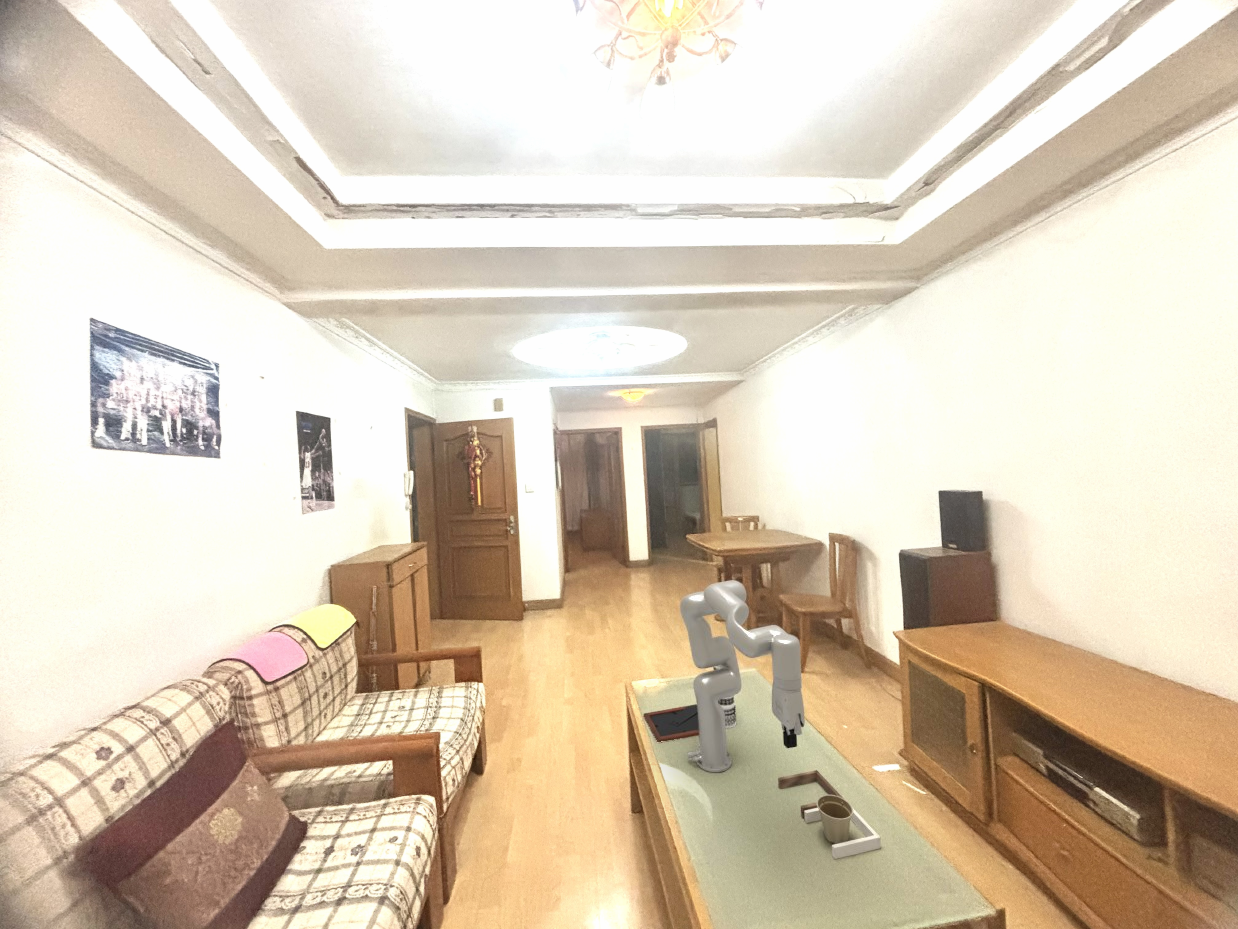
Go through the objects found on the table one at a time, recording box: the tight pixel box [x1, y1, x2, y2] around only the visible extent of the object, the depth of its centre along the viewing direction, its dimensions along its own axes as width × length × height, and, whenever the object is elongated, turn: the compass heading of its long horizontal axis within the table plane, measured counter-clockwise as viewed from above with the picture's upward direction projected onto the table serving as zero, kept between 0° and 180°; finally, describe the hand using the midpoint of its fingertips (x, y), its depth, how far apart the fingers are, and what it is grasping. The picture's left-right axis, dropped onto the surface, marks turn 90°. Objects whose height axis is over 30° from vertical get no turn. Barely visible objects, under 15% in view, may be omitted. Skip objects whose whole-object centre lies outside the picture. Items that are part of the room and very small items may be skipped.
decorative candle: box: [712, 665, 737, 729], centre depth 195 cm, size 9×9×25 cm
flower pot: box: [816, 794, 854, 844], centre depth 135 cm, size 9×9×9 cm
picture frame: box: [643, 703, 699, 743], centre depth 197 cm, size 20×2×25 cm
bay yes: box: [804, 808, 882, 860], centre depth 136 cm, size 14×14×3 cm
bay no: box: [777, 769, 845, 819], centre depth 151 cm, size 14×14×3 cm
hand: (790, 745), depth 134 cm, fingers closed
